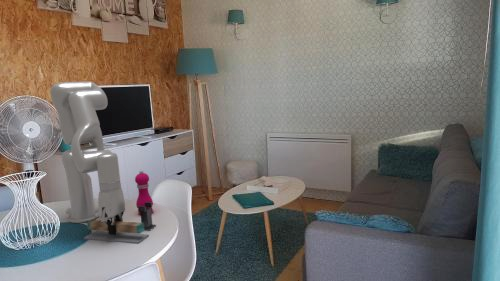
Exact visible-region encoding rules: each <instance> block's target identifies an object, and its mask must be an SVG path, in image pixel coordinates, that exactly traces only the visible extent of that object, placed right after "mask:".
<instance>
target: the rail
mask: <svg viewBox="0 0 500 281" xmlns="http://www.w3.org/2000/svg"><path fill="white" fill-rule="evenodd" d="M114 224H116V232H121V233H134V234H142V233H143V232H145V230H144V223H141V222H138V221H137V222H135V221H123V222H122V221H114ZM86 226H87V230H88V231H108V225H106V223H104V222H101V219H94V220H91V221H87V222H86Z"/></svg>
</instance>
